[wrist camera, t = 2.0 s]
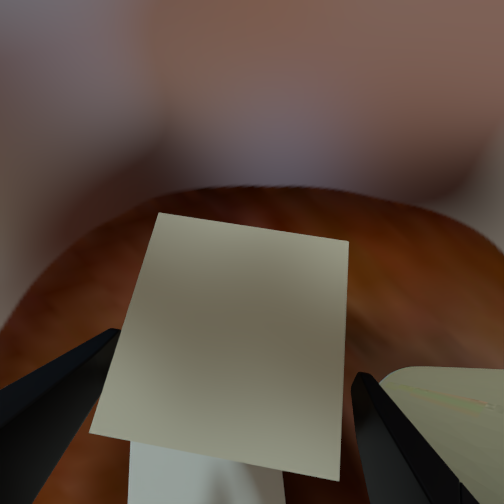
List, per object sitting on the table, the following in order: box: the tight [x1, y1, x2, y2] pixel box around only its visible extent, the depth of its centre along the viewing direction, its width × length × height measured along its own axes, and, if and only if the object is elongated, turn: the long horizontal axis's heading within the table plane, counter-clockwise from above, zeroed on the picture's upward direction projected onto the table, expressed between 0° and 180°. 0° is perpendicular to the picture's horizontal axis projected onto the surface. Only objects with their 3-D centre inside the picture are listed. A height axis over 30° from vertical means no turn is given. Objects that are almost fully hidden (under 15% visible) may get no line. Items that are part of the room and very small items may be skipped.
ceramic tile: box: [128, 441, 286, 504], centre depth 15 cm, size 9×9×1 cm
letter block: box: [89, 213, 349, 481], centre depth 12 cm, size 5×5×13 cm
